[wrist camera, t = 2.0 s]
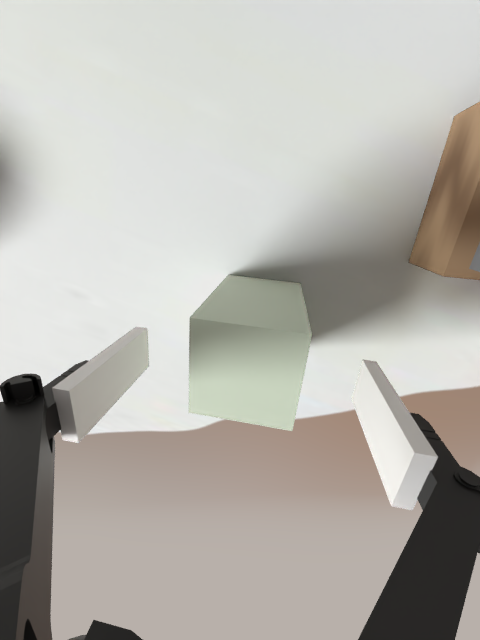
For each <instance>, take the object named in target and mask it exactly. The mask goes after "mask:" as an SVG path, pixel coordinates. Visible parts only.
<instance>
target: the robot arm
mask: <svg viewBox="0 0 480 640" xmlns="http://www.w3.org/2000/svg"><path fill="white" fill-rule="evenodd" d="M148 367H149V353H148V331H147V328H141V327H135V328H134V329H132V330H131V331H129V332H128V333H127V334H125V335H124V336H123V337H121V338H120V339H118V340H117V341H116V342H114V343H113V344H112V345H110V346H109V347H108V348H106V349H105V350H103V351H102V352H101V353H99V354H98V355H97V356H95V357H94V358H92V359H91V360H90V361H83V362H81V363H78V364H76V365H74V366H73V367H71V368H70V369H69V370H68V371H66V372H64V373H63V374H61V376H59V377H57V378H56V379H54V380H53V381H51V382H50V383H49V384H47V385H46V386H44V387H43V386H42V382H41V378H40V376H39V375H37V374H22V375H18V376H15V377H12V378H10V379H7V380H6V381H5V382H3V383H2V384H1V385H0V391H1V394H2V398H3V401H4V402H0V640H52V633H51V622H50V606H51V605H50V604H51V570H52V533H53V528H52V527H53V493H54V456H55V440H54V435H55V434H56V433H57V432H58V431H59V430H61V434H62V438H63V440H67V441H71V442H76V443H79V442H80V441H81V440H82V439H83V438H84V437H85V435H86V434H87V433H88V432H89V431H90V430H91V429H92V428H93V427H94V426H95V425H96V424H97V422H98V421H99V420H100V419H101V418H102V417H103V416H104V415H105V414H106V413H107V412H108V410H109V409H110V408H111V407H112V406H113V405H114V404H115V403H116V402H117V401H118V400H119V398H120V397H121V396H122V395H123V394H124V393H125V392H126V391H127V390H128V389H129V388H130V386H131V385H132V384H133V383H134V382H135V381H136V380H137V379H138V378H139V377H140V376H141V374H142V373H143V372H144V371H145V370H146V369H147V368H148ZM351 399H352V402H353V405H354V407H355V410H356V413H357V415H358V418H359V421H360V423H361V426H362V429H363V432H364V434H365V437H366V440H367V442H368V445H369V448H370V450H371V453H372V456H373V458H374V461H375V464H376V466H377V469H378V472H379V474H380V477H381V480H382V482H383V485H384V488H385V490H386V493H387V496H388V498H389V501H390V504H391V506H393V507H398V508H403V509H408V510H413V508H414V506H415V504H416V502H417V500H418V501H419V503H420V505H421V507H422V509H423V512H422V514H421V516H420V518H419V520H418V522H417V524H416V526H415V528H414V530H413V532H412V534H411V536H410V538H409V540H408V542H407V544H406V546H405V547H404V550H403V552H402V553H401V555H400V558H399V559H398V562H397V564H396V565H395V568H394V569H393V571H392V573H391V575H390V577H389V580H388V581H387V583H386V586H385V587H384V589H383V591H382V593H381V596H380V597H379V599H378V601H377V603H376V605H375V607H374V609H373V611H372V613H371V615H370V617H369V619H368V621H367V623H366V625H365V627H364V629H363V631H362V633H361V635H360V637H359V639H358V640H455V637H456V633H457V629H458V625H459V621H460V617H461V614H462V610H463V606H464V602H465V598H466V594H467V590H468V586H469V583H470V579H471V575H472V571H473V567H474V563H475V560H476V556H477V552H478V553H480V477H478V476H477V475H475V474H474V473H473V472H471V471H469V470H467V469H465V468H463V467H460V466H459V464H458V463H457V461H456V460H455V459H454V458H453V456H452V454H451V453H450V451H449V450H448V449H447V447H446V446H445V445H444V443H443V442H442V441H441V439H440V437H439V436H438V435H437V434H436V433H435V430H434V429H433V428H432V426H431V425H430V424H429V422H427V421H426V420H425V419H424V418H423V417H421V416H420V415H419V414H415V413H409V411H408V410H407V409H406V407H405V405H404V404H403V402H402V400H401V399H400V397H399V396H398V394H397V393H396V391H395V390H394V388H393V387H392V385H391V383H390V382H389V380H388V379H387V377H386V376H385V374H384V373H383V371H382V370H381V368H380V366H379V365H378V363H377V362H375V361H369V360H362V363H361V367H360V370H359V374H358V377H357V381H356V384H355V388H354V391H353V394H352V398H351ZM69 640H142V639H141V638H140V637H139V636H137V635H136V634H135V633H134V632H132V631H131V630H128V629H124V628H121V627H117V626H113V625H110V624H106V623H103V622H99V621H96V620H93V622H92V625H91V627H90V629H89V631H88V633H87V635H81V636H78V637H75V638H71V639H69Z"/></svg>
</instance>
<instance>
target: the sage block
mask: <svg viewBox="0 0 480 640" xmlns="http://www.w3.org/2000/svg"><path fill="white" fill-rule="evenodd" d="M311 338H312V332H311V327H310V323H309V318H308V314H307V309H306V305H305V301H304V296H303V292H302V287H301V283H295V282H286V281H278V280H269V279H260V278H252V277H243V276H235V275H228V276H227V277H226V278H225V279H224V280H223V281H222V282H221V284H220V285H219V286H218V287H217V288H216V289H215V290H214V291H213V292H212V294H211V295H210V296H209V297H208V298H207V299H206V300H205V301H204V302H203V304H202V305H201V306H200V307H199V308H198V309H197V310H196V311H195V312H194V314H193V315H192V316H191V317H190V340H189V413H194V414H199V415H205V416H210V417H216V418H222V419H228V420H233V421H239V422H244V423H250V424H255V425H261V426H267V427H272V428H278V429H284V430H289V431H292V430H293V425H294V420H295V415H296V411H297V406H298V401H299V396H300V391H301V386H302V381H303V377H304V372H305V367H306V362H307V357H308V352H309V348H310V343H311Z"/></svg>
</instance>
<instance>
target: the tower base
mask: <svg viewBox="0 0 480 640" xmlns="http://www.w3.org/2000/svg"><path fill="white" fill-rule="evenodd" d="M479 242H480V102H478V103H477V104H475V105H473V106H471V107H470V108H468V109H466V110H464V111H463V112H461V113H459V114H457V115H456V116H454V119H453V122H452V126H451V129H450V132H449V135H448V138H447V141H446V145H445V148H444V151H443V154H442V157H441V160H440V164H439V167H438V170H437V173H436V176H435V180H434V183H433V186H432V189H431V192H430V195H429V199H428V202H427V205H426V208H425V211H424V214H423V218H422V221H421V224H420V227H419V230H418V234H417V237H416V240H415V243H414V246H413V249H412V253H411V256H410V259H409V263H412V264H414V265H416V266H419V267H421V268H424V269H426V270H429V271H431V272H434V273H436V274H439V275H441V276H445V277H454V278H464V279H474V280H480V272H478V271H475V270H472V269H469V267H470V265H471V262H472V260H473V257H474V255H475V252H476V250H477V247H478V245H479Z"/></svg>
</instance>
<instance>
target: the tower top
mask: <svg viewBox="0 0 480 640" xmlns="http://www.w3.org/2000/svg"><path fill="white" fill-rule="evenodd" d="M469 269H472V270H475V271H478V272H480V242H479V245H478V247H477V250H476V252H475V255H474V257H473V260H472V262H471V265H470V267H469Z"/></svg>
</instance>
